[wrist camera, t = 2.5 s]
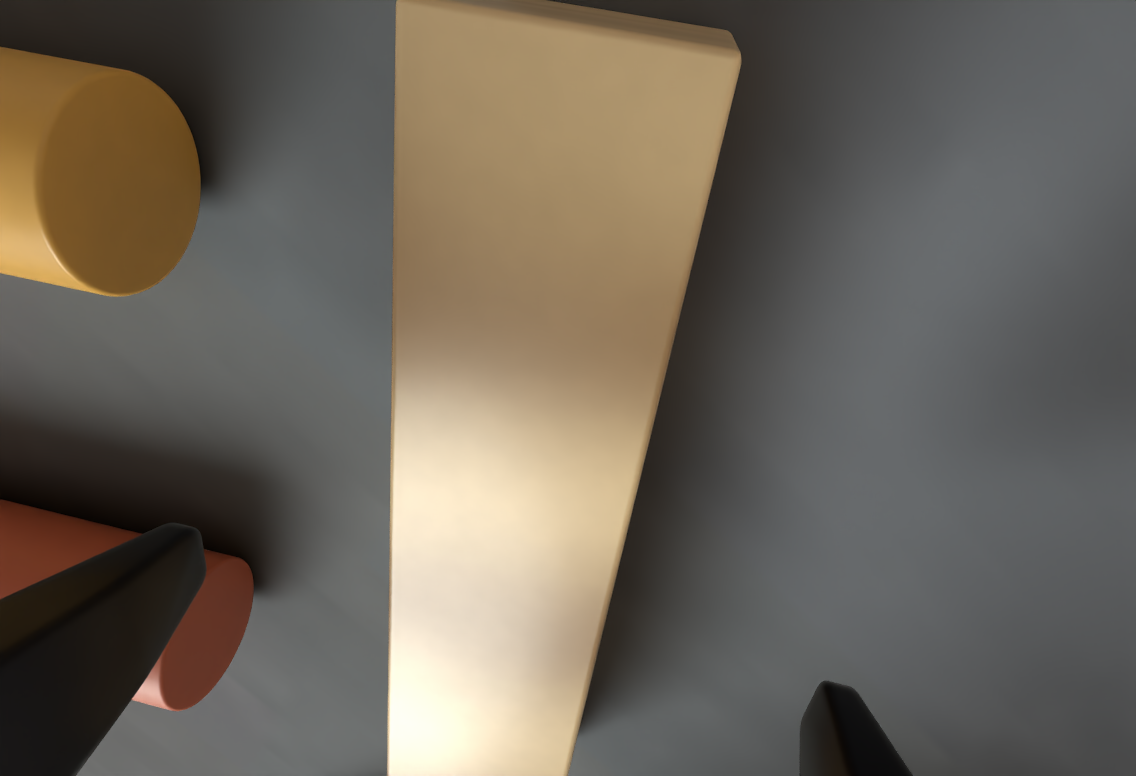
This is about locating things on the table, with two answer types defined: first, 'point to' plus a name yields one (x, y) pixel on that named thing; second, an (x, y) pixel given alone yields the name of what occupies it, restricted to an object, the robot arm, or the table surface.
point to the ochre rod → (92, 175)
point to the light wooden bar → (529, 351)
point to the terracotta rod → (203, 637)
